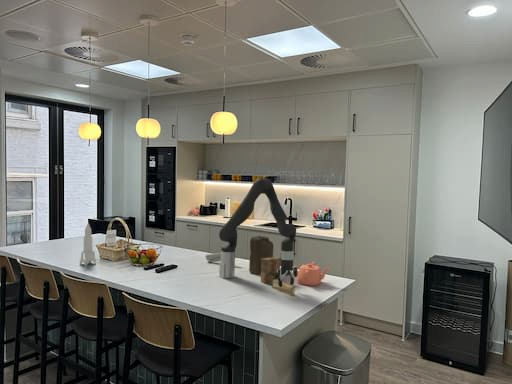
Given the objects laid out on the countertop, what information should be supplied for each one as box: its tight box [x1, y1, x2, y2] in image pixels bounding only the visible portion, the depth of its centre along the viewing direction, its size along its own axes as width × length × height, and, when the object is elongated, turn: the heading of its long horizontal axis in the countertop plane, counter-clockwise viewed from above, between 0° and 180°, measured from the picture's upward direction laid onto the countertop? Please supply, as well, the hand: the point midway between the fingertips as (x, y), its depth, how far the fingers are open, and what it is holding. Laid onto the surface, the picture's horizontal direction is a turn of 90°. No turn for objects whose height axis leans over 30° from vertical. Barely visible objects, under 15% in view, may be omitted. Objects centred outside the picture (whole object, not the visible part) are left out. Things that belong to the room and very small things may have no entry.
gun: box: [205, 252, 237, 263], centre depth 280 cm, size 2×25×10 cm, turn 66°
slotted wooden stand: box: [260, 256, 284, 286], centre depth 237 cm, size 13×10×15 cm
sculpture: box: [79, 222, 97, 267], centre depth 266 cm, size 7×8×30 cm
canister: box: [248, 235, 274, 275], centre depth 262 cm, size 19×8×25 cm, turn 142°
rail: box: [271, 279, 296, 297], centre depth 221 cm, size 4×17×5 cm, turn 34°
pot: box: [293, 261, 330, 287], centre depth 239 cm, size 18×17×12 cm
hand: (286, 285), depth 219 cm, fingers open, 8 cm apart
